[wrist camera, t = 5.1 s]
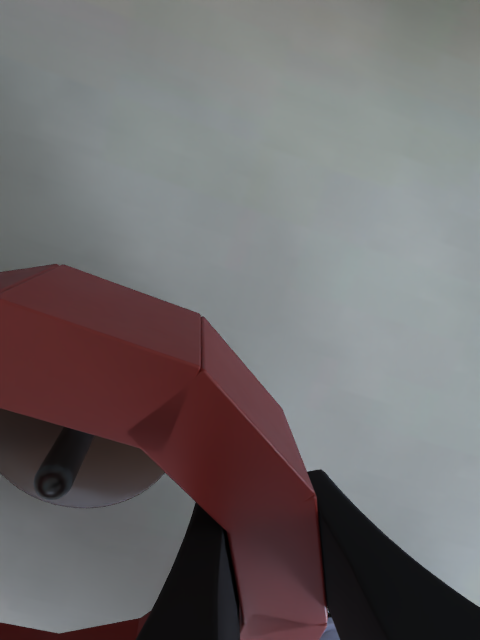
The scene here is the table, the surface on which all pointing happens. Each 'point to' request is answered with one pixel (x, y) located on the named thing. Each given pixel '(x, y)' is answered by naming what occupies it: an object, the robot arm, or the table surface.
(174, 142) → the table surface
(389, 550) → the robot arm
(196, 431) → the ring
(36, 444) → the peg stand
